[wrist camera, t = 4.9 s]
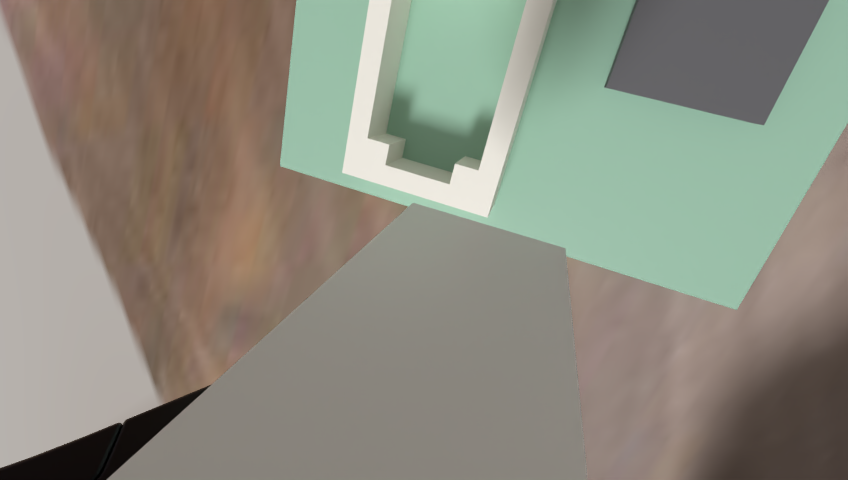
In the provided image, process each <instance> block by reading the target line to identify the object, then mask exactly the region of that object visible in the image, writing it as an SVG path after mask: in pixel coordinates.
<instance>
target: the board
mask: <svg viewBox="0 0 848 480" xmlns="http://www.w3.org/2000/svg"><path fill="white" fill-rule="evenodd" d="M847 123H848V0H297V1H296V11H295V21H294V31H293V41H292V51H291V61H290V71H289V81H288V91H287V101H286V111H285V121H284V131H283V141H282V151H281V161H280V166H282V167H285V168H288V169H291V170H294V171H297V172H301V173H304V174H307V175H310V176H313V177H317V178H320V179H323V180H326V181H329V182H332V183H336V184H339V185H342V186H345V187H348V188H351V189H355V190H358V191H361V192H364V193H367V194H370V195H374V196H377V197H380V198H383V199H386V200H390V201H393V202H396V203H399V204H402V205H405V206H410V205H411V204H412V203H416V204H419V205H423V206H426V207H429V208H433V209H436V210H439V211H443V212H446V213H449V214H453V215H456V216H459V217H463V218H466V219H469V220H473V221H476V222H479V223H483V224H486V225H489V226H493V227H496V228H499V229H503V230H506V231H509V232H513V233H516V234H519V235H523V236H526V237H530V238H533V239H536V240H540V241H543V242H546V243H550V244H553V245H556V246H560V247H563V248H565V250H566V256H567V257H570V258H574V259H577V260H580V261H583V262H586V263H589V264H593V265H596V266H599V267H602V268H605V269H608V270H612V271H615V272H618V273H621V274H624V275H627V276H631V277H634V278H637V279H640V280H643V281H647V282H650V283H653V284H656V285H659V286H662V287H666V288H669V289H672V290H675V291H678V292H681V293H685V294H688V295H691V296H694V297H697V298H700V299H704V300H707V301H710V302H713V303H716V304H720V305H723V306H726V307H729V308H732V309H735V310H737V309H738V307H739V305H740V304H741V302H742V300H743V298H744V297H745V295H746V293H747V292H748V290H749V288H750V287H751V285H752V283H753V282H754V280H755V278H756V277H757V275H758V273H759V272H760V270H761V268H762V266H763V265H764V263H765V261H766V260H767V258H768V256H769V255H770V253H771V251H772V250H773V248H774V246H775V245H776V243H777V241H778V239H779V238H780V236H781V234H782V233H783V231H784V229H785V228H786V226H787V224H788V223H789V221H790V219H791V218H792V216H793V214H794V213H795V211H796V209H797V207H798V206H799V204H800V202H801V201H802V199H803V197H804V196H805V194H806V192H807V191H808V189H809V187H810V186H811V184H812V182H813V180H814V179H815V177H816V175H817V174H818V172H819V170H820V169H821V167H822V165H823V164H824V162H825V160H826V159H827V157H828V155H829V153H830V152H831V150H832V148H833V147H834V145H835V143H836V142H837V140H838V138H839V137H840V135H841V133H842V132H843V130H844V128H845V127H846V125H847Z"/></svg>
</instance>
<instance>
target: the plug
mask: <svg viewBox="0 0 848 480" xmlns="http://www.w3.org/2000/svg"><path fill="white" fill-rule="evenodd" d="M107 480H588V478H587V468H586V457H585V447H584V437H583V426H582V416H581V406H580V395H579V385H578V374H577V364H576V354H575V343H574V333H573V322H572V312H571V302H570V291H569V281H568V270H567V260H566V250H565V248H563V247H560V246H556V245H553V244H550V243H546V242H543V241H540V240H536V239H533V238H530V237H526V236H523V235H519V234H516V233H513V232H509V231H506V230H503V229H499V228H496V227H493V226H489V225H486V224H483V223H479V222H476V221H473V220H469V219H466V218H463V217H459V216H456V215H453V214H449V213H446V212H443V211H439V210H436V209H433V208H429V207H426V206H423V205H419V204H416V203H412V204H411V205H410V206H409V207H408V208H407V209H406V210H404V211H403V212H402V213H401V214H400V215H399V216H398V217H397V218H396V219H395V220H393V221H392V222H391V223H390V224H389V225H388V226H387V227H386V228H385V229H383V230H382V231H381V232H380V233H379V234H378V235H377V236H376V237H375V238H373V239H372V240H371V241H370V242H369V243H368V244H367V245H366V246H365V247H364V248H362V249H361V250H360V251H359V252H358V253H357V254H356V255H355V256H354V257H352V258H351V259H350V260H349V261H348V262H347V263H346V264H345V265H344V266H342V267H341V268H340V269H339V270H338V271H337V272H336V273H335V274H334V275H333V276H331V277H330V278H329V279H328V280H327V281H326V282H325V283H324V284H323V285H321V286H320V287H319V288H318V289H317V290H316V291H315V292H314V293H313V294H311V295H310V296H309V297H308V298H307V299H306V300H305V301H304V302H303V303H302V304H300V305H299V306H298V307H297V308H296V309H295V310H294V311H293V312H292V313H290V314H289V315H288V316H287V317H286V318H285V319H284V320H283V321H282V322H280V323H279V324H278V325H277V326H276V327H275V328H274V329H273V330H272V331H271V332H269V333H268V334H267V335H266V336H265V337H264V338H263V339H262V340H261V341H259V342H258V343H257V344H256V345H255V346H254V347H253V348H252V349H251V350H250V351H248V352H247V353H246V354H245V355H244V356H243V357H242V358H241V359H240V360H238V361H237V362H236V363H235V364H234V365H233V366H232V367H231V368H230V369H228V370H227V371H226V372H225V373H224V374H223V375H222V376H221V377H220V378H219V379H217V380H216V381H215V382H214V383H213V384H212V385H211V386H210V387H209V388H207V389H206V390H205V391H204V392H203V393H202V394H201V395H200V396H199V397H197V398H196V399H195V400H194V401H193V402H192V403H191V404H190V405H189V406H188V407H186V408H185V409H184V410H183V411H182V412H181V413H180V414H179V415H178V416H176V417H175V418H174V419H173V420H172V421H171V422H170V423H169V424H168V425H166V426H165V427H164V428H163V429H162V430H161V431H160V432H159V433H158V434H157V435H155V436H154V437H153V438H152V439H151V440H150V441H149V442H148V443H147V444H145V445H144V446H143V447H142V448H141V449H140V450H139V451H138V452H137V453H135V454H134V455H133V456H132V457H131V458H130V459H129V460H128V461H127V462H126V463H124V464H123V465H122V466H121V467H120V468H119V469H118V470H117V471H116V472H114V473H113V474H112V475H111V476H110V477H109V478H108V479H107Z"/></svg>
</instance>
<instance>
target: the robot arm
mask: <svg viewBox="0 0 848 480" xmlns="http://www.w3.org/2000/svg"><path fill="white" fill-rule="evenodd" d="M210 386H211V385H209V386H207V387H205V388H202V389H200V390H197V391H195V392H192V393H190V394H188V395H185V396H183V397H180V398H178V399H175V400H173V401H170V402H168V403H166V404H163V405H161V406H158V407H156V408H154V409H151V410H149V411H146V412H144V413H141V414H139V415H136V416H134V417H132V418H129V419H127V420H126V421H125V422H124V423H123V425H122V424H121V423H117V424H114V425H112V426H109V427H107V428H104V429H102V430H99V431H97V432H94V433H92V434H90V435H87V436H85V437H82V438H79V439H77V440H74V441H72V442H70V443H67V444H64V445H62V446H59V447H56V448H54V449H51V450H49V451H46V452H44V453H41V454H38V455H36V456H33V457H31V458H28V459H25V460H22V461H19V462H16V463H14V464H11V465H8V466H5V467H2V468H0V480H107V479H108V478H109V477H110V476H111V475H112V474H113V473H114V472H116V471H117V470H118V469H119V468H120V467H121V466H122V465H123V464H124V463H126V462H127V461H128V460H129V459H130V458H131V457H132V456H133V455H134V454H135V453H137V452H138V451H139V450H140V449H141V448H142V447H143V446H144V445H145V444H147V443H148V442H149V441H150V440H151V439H152V438H153V437H154V436H155V435H157V434H158V433H159V432H160V431H161V430H162V429H163V428H164V427H165V426H166V425H168V424H169V423H170V422H171V421H172V420H173V419H174V418H175V417H176V416H178V415H179V414H180V413H181V412H182V411H183V410H184V409H185V408H186V407H188V406H189V405H190V404H191V403H192V402H193V401H194V400H195V399H196V398H197V397H199V396H200V395H201V394H202V393H203V392H204V391H205V390H206V389H207V388H209V387H210Z"/></svg>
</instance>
